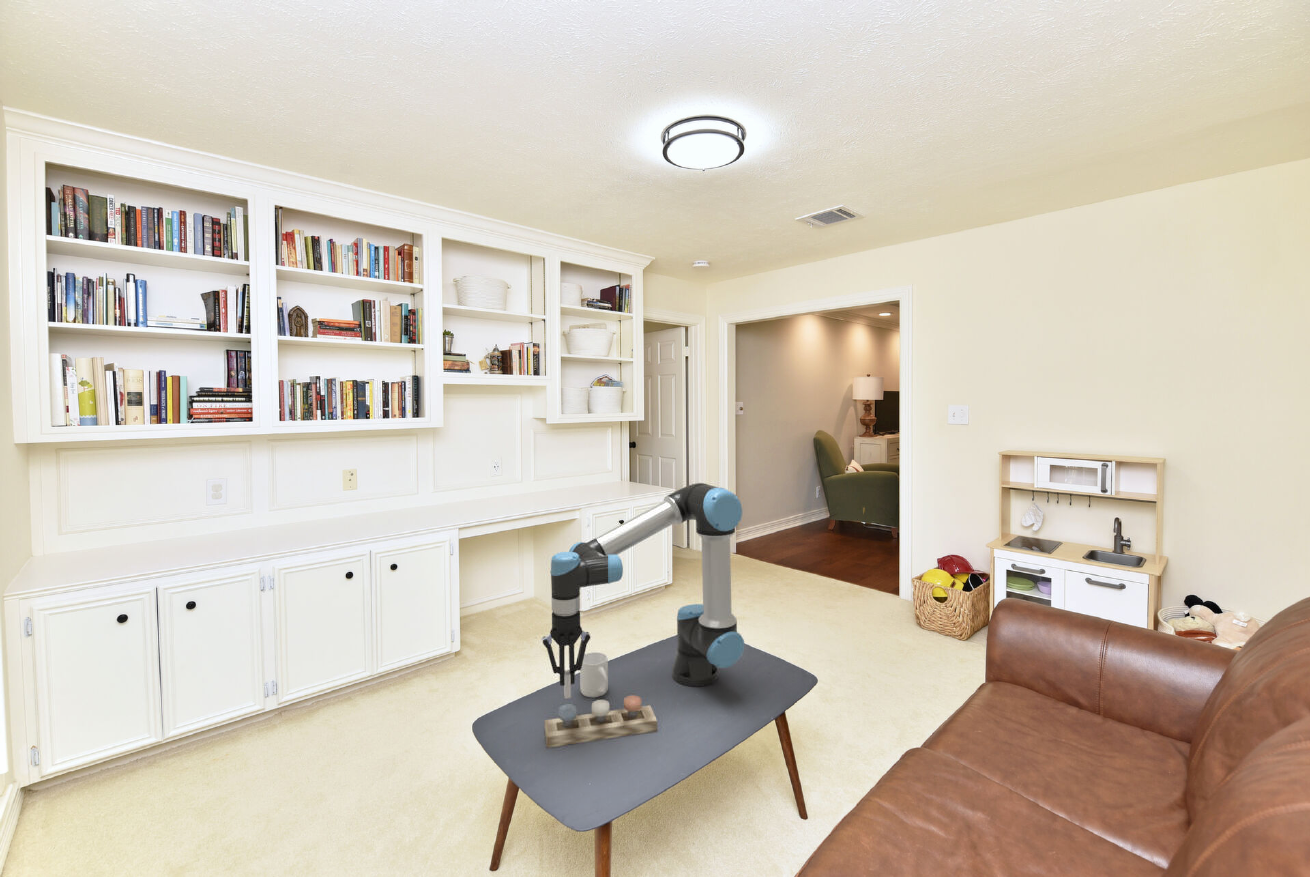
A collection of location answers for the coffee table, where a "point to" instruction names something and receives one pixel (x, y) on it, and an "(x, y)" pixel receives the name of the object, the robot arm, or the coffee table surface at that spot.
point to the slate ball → (567, 714)
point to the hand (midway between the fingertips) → (567, 695)
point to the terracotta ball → (632, 705)
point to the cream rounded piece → (600, 710)
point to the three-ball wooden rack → (599, 727)
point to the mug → (594, 674)
